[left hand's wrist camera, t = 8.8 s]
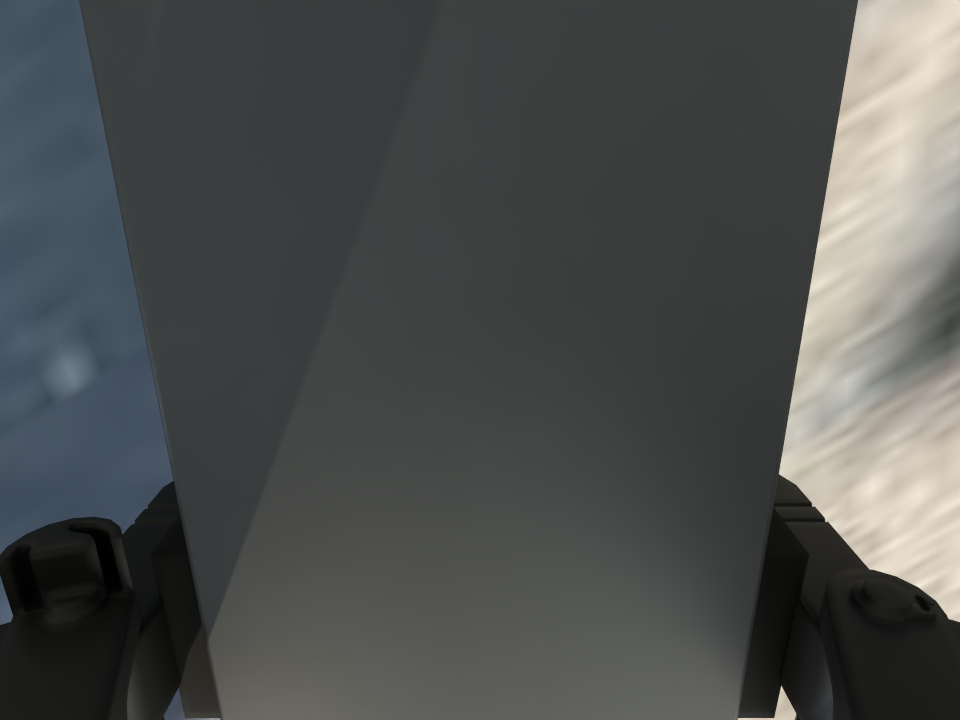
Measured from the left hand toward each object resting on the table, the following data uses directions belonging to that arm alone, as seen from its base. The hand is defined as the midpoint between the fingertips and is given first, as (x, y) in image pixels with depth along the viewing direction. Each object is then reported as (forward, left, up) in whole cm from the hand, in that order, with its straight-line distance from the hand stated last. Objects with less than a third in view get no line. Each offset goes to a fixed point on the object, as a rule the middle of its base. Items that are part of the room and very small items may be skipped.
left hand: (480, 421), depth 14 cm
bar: (+16, +28, -1) cm, 32 cm away
